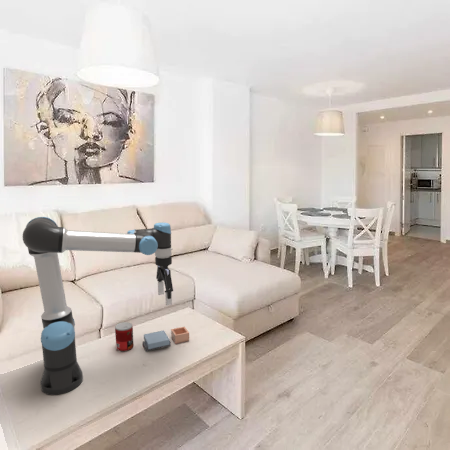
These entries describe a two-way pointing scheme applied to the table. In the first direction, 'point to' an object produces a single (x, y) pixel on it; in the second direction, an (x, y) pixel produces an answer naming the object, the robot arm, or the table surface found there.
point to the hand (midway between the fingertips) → (164, 299)
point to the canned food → (124, 336)
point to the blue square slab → (156, 339)
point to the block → (153, 348)
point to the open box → (179, 335)
